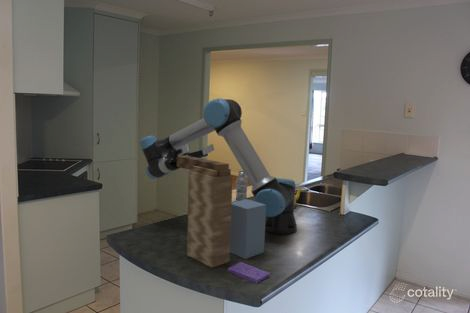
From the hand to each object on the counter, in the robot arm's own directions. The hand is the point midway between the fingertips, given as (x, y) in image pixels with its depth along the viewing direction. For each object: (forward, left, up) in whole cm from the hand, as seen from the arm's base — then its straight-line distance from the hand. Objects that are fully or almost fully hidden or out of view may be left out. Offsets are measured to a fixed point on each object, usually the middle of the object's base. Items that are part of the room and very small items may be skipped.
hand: (200, 147), depth 155 cm
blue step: (-21, +15, -37) cm, 45 cm away
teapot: (-39, -55, -37) cm, 77 cm away
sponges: (-23, +33, -38) cm, 55 cm away
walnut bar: (-4, +20, -6) cm, 21 cm away
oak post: (-8, +23, -37) cm, 45 cm away
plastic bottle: (-14, -45, -37) cm, 60 cm away
